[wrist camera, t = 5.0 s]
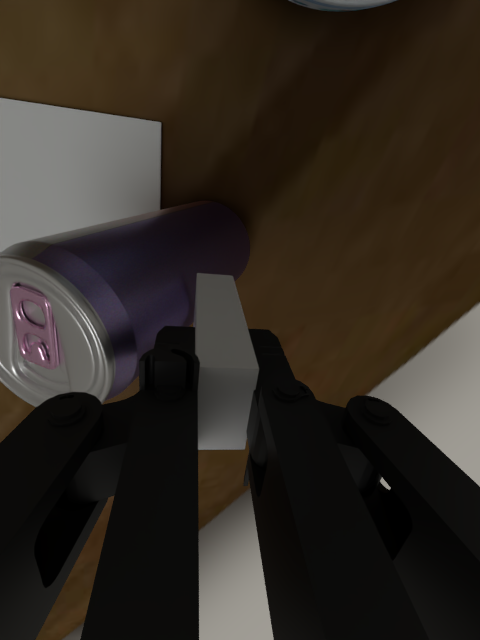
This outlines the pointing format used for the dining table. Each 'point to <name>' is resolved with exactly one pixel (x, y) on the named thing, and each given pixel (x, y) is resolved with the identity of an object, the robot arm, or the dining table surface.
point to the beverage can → (107, 296)
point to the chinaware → (341, 4)
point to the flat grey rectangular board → (73, 169)
